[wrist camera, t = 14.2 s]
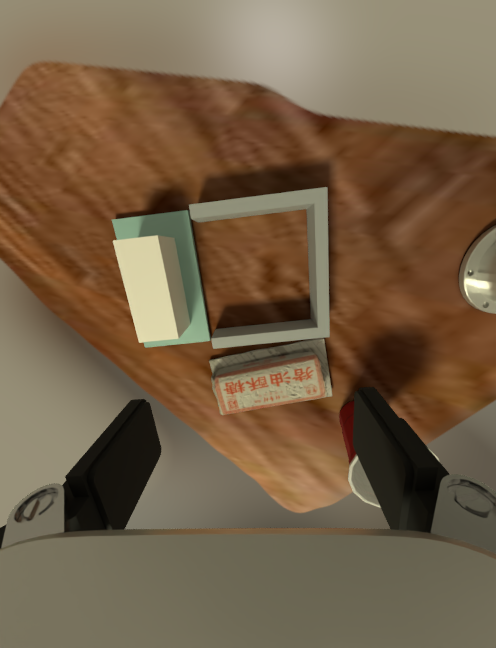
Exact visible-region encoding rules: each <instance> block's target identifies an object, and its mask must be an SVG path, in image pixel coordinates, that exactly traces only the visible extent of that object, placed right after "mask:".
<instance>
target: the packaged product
mask: <svg viewBox="0 0 496 648" xmlns="http://www.w3.org/2000/svg"><path fill="white" fill-rule="evenodd" d="M209 362H210V366H211V369H212V373H213V375H212V377H211V381H212V383H213V388H212V389H213V391H214V394H215V396H216V397H217V400H218V406H219V408H220V414H221V415H225V414H232V413H237V412H244V411H248V410H249V411H250V410H255V409H261V408H266V407H273V406H278V405H283V404H288V403H294V402H300V401H307V400H313V399H318V398H323V397H330V396H332V389H331V382H330V375H329V368H328V362H327V355H326V348H325V342H324V338H317V339H311V340H306V341H301V342H297V343H293V344H288V345H282V346H277V347H271V348H266V349H258V350H254V351H249V352H246V353H242V354H235V355H229V356H225V357H220V358H216V359H212V360H209Z"/></svg>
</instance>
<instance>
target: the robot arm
mask: <svg viewBox="0 0 496 648" xmlns="http://www.w3.org/2000/svg"><path fill="white" fill-rule="evenodd" d="M459 286H460V290H461V293H462V295H463V297H464V299H465V300H466V301H467V302H468V303H469V304H470V305H471V306H473V307H474V308H476V309H478V310H481V311H484V312H488V313H495V314H496V225H495V226H493V227H491V228H490V229H488V230H487V231H485V232H484V233H483V234H482V235H481V236H480V237H479V238H478V239H476V240H475V242H474V243H473V244H472V246H471V247H470V248H469V250H468V251H467V253H466V255H465V257H464V259H463V261H462V264H461V267H460V272H459ZM353 446H354V450H355V452H356V454H357V456H358V459H359V461H360V463H361V465H362V467H363V470H364V472H365V474H366V476H367V478H368V480H369V483H370V485H371V487H372V489H373V491H374V494H375V496H376V498H377V500H378V502H379V504H380V507H381V509H382V511H383V513H384V515H385V517H386V520H387V522H388V524H389V526H390V529H354V528H229V529H228V528H227V529H226V528H220V529H133V530H132V529H131V530H130V529H129V530H128V529H127V530H124V529H125V527H126V525H127V523H128V521H129V519H130V517H131V515H132V513H133V511H134V509H135V506H136V504H137V502H138V500H139V498H140V496H141V494H142V492H143V490H144V488H145V486H146V484H147V482H148V480H149V478H150V476H151V474H152V472H153V470H154V468H155V466H156V464H157V462H158V460H159V457H160V455H161V445H160V441H159V438H158V434H157V430H156V426H155V422H154V418H153V414H152V410H151V406H150V403H149V402H146V400H144V399H138V400H131V401H130V402H129V403H128V404H127V405H126V407H125V408H124V409H123V410H122V411H121V412H120V413H119V415H118V416H117V417H116V418H115V419H114V421H113V422H112V423H111V424H110V425H109V426H108V428H107V429H106V430H105V431H104V432H103V433H102V434H101V436H100V437H99V438H98V439H97V440H96V441H95V443H94V444H93V445H92V446H91V447H90V448H89V450H88V451H87V452H86V453H85V454H84V455H83V456H82V458H81V459H80V460H79V461H78V462H77V464H76V465H75V466H74V467H73V468H72V469H71V470H70V472H69V473H68V474H67V475H66V477H65V478H66V482H65V483H64V484H63V485H60V484H49V485H46V486H43V487H41V488H39V489H37V490H35V491H33V492H32V493H30V494H29V495H27V496H26V497H25V498H24V499H22V500H21V501H20V502H19V503H18V504H17V505H16V506H15V508H14V509H13V510H12V512H11V513H10V515H9V518H8V520H7V524H6V525H5V526H3V527H1V528H0V648H496V492H495V491H494V490H492V489H491V488H490V487H488V486H487V485H485V484H483V483H481V482H480V481H478V480H476V479H473V478H470V477H467V476H465V475H458V474H451V475H450V474H449V473H448V472H447V471H446V469H445V468H444V467H443V466H442V465H441V463H440V462H439V461H438V460H437V458H436V457H435V456H434V455H433V454H432V452H431V451H430V450H429V449H428V448H427V446H426V445H425V444H424V443H423V442H422V440H421V439H420V438H419V437H418V435H417V434H416V433H415V432H414V431H413V429H412V428H411V427H410V426H409V425H408V423H407V422H406V421H405V420H404V419H402V418H399V417H398V416H397V415H396V414H395V412H394V411H393V410H392V409H391V407H390V406H389V405H388V404H387V402H386V401H385V400H384V399H383V397H382V396H381V395H380V394H379V392H378V391H377V390H376V389H375V388H374V387H364V388H359V391H356V392H355V395H354V420H353Z"/></svg>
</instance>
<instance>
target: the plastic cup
mask: <svg viewBox="0 0 496 648" xmlns="http://www.w3.org/2000/svg"><path fill="white" fill-rule="evenodd" d="M339 418H340V424H341V427H342V433H343V437H344V441H345V445H346V449H347V453H348V457H349V474H348V481H349V483H350V485H351V488H352V490H353V492H354V493H355V494H356V495H357V496H358V497H360V498H361V499H362V500H363V501H364V502H366V503H369V504H371V505H374V506H377V507H380V504H379V502H378V500H377V498H376V496H375V494H374V491H373V489H372V487H371V485H370V483H369V480H368V478H367V476H366V474H365V472H364V470H363V467H362V465H361V463H360V461H359V459H358V456H357V454H356V452H355V450H354V446H353V420H354V401H351V402H349V403H347V404H346V405H345V406H343V408H342V409H341V411H340V416H339ZM427 448H428V447H427ZM428 449H429V448H428ZM429 450H430V449H429ZM430 451H431V450H430ZM431 452H432V451H431ZM432 454H433V455H434V456H435V457H436V458H437V460H438V461H439V459H438V457H437V456H436V455H435V454H434V453H433V452H432ZM380 508H381V507H380Z"/></svg>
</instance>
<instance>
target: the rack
mask: <svg viewBox="0 0 496 648" xmlns="http://www.w3.org/2000/svg"><path fill="white" fill-rule="evenodd" d="M189 209H190V215H191V219H192V220H194V221H196V222H206V221H214V220H222V219H230V218H238V217H246V216H254V215H262V214H270V213H278V212H286V211H294V210H302V209H307V233H308V259H309V285H310V312H311V319H307V320H298V321H288V322H279V323H269V324H260V325H250V326H241V327H231V328H221V329H215V332H214V334H213V336H212V338H211V339H212V345H213V349H215V348H225V347H235V346H245V345H255V344H265V343H275V342H284V341H294V340H304V339H314V338H324V337H330V335H329V263H328V192H327V187H323V188H315V189H307V190H299V191H292V192H284V193H276V194H268V195H261V196H253V197H245V198H237V199H229V200H222V201H214V202H206V203H198V204H191V205H189Z"/></svg>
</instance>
